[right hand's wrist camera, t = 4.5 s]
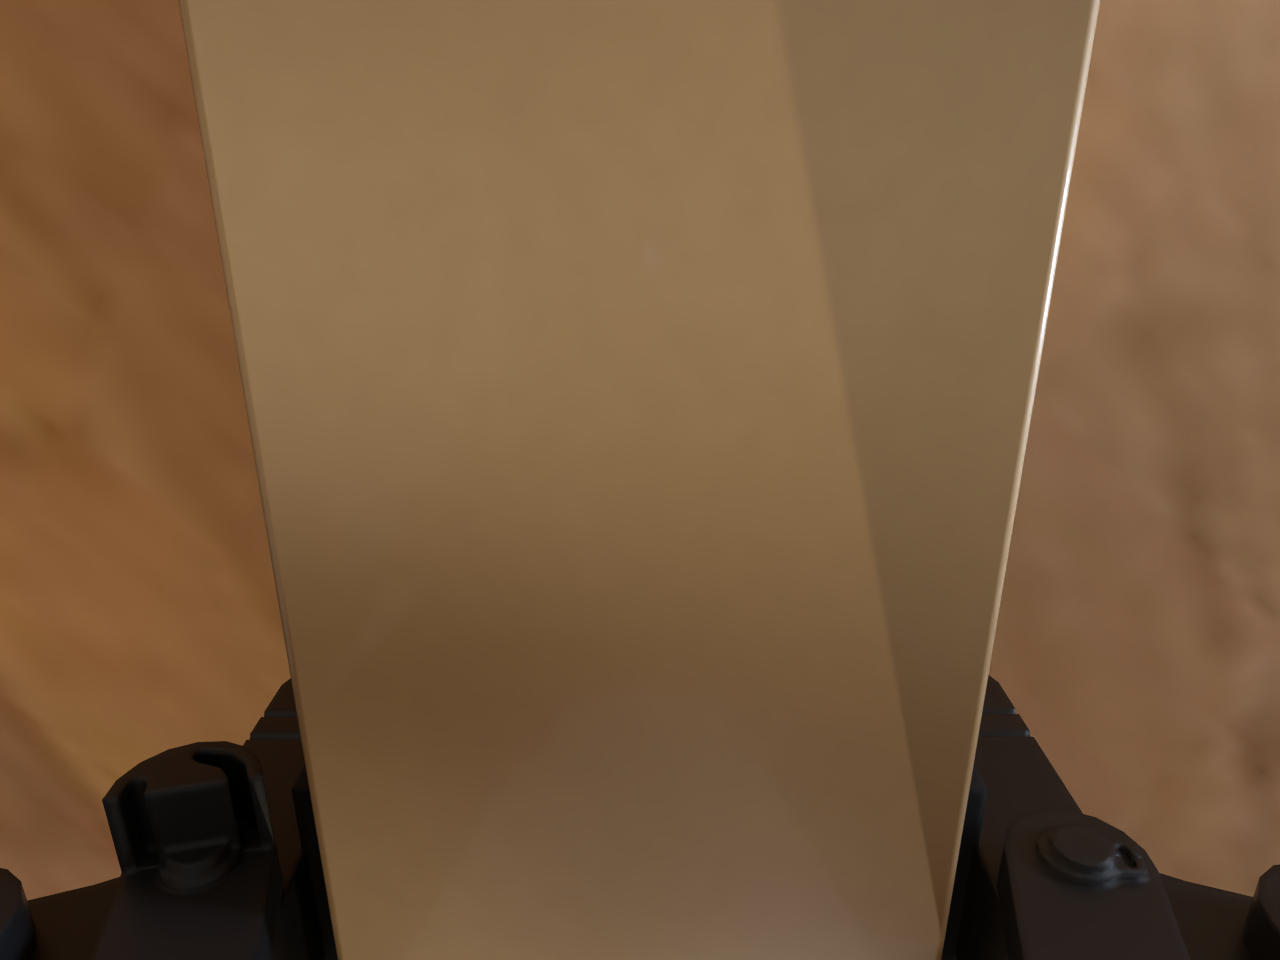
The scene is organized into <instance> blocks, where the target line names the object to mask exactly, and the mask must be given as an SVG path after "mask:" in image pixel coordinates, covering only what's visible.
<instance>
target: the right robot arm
mask: <svg viewBox="0 0 1280 960" xmlns="http://www.w3.org/2000/svg"><path fill="white" fill-rule="evenodd" d="M264 713H265V715H264V717H261V718H260V720H259V721H258V723H257V724H256V726H255V728H254V729H253V731H252V732H251V734H250V740H246V742H245V743H244V745H243V746H241V745H237V744H234V743H230V742H226V741H220V742H197V743H193V744H189V745H185V746H181V747H177V748H173V749H169V750H166V751H164V752H162V753H160V754H158V755H156V756H153V757H151V758H149V759H147V760H145V761H143V762H141V763H139V764H138V765H136V766H135V767H134V768H132V769H131V770H130V771H128V772H127V773H126V774H124V775H123V776H122V777H120V778H119V779H118V780H116V782H115V783H114V785H113V786H112V787H111V789H110V790H109V791H108V793H107V794H106V796H105V797H104V798H103V800H102V801H103V805H104V809H105V812H106V816H107V820H108V823H109V827H110V831H111V834H112V838H113V842H114V845H115V849H116V853H117V856H118V860H119V864H120V867H121V871H122V874H121V876H120V877H118V878H115V879H112V880H109V881H105V882H102V883H99V884H96V885H92V886H87V887H83V888H79V889H75V890H71V891H66V892H62V893H58V894H54V895H50V896H45V897H41V898H37V899H33V900H28V901H27V899H26V896H25V893H24V890H23V887H22V883H21V881H20V880H19V879H18V878H16V877H15V876H14V875H13V874H12V873H11V872H10V871H9V870H7V869H2V868H0V960H338V957H337V951H336V945H335V939H334V933H333V927H332V921H331V915H330V909H329V903H328V897H327V891H326V885H325V879H324V873H323V867H322V861H321V855H320V849H319V843H318V837H317V831H316V825H315V819H314V813H313V807H312V801H311V795H310V789H309V783H308V777H307V771H306V765H305V759H304V753H303V747H302V741H301V735H300V729H299V723H298V717H297V711H296V705H295V699H294V693H293V687H292V681H291V679H289V680H288V681H287V682H285V683H284V684H283V685H281V687H280V689H279V690H278V692H277V693H276V695H275V696H274V698H273V699H272V701H271V703H270V704H269V706H268V707H267V709H266V710H265V712H264ZM941 960H1280V864H1279V865H1273V866H1272V867H1271V868H1270V869H1269V870H1268V871H1266V872H1265V873H1264V874H1263V875H1262V876H1261V877H1260V878H1259V881H1258V884H1257V887H1256V890H1255V893H1254V896H1253V897H1250V896H1246V895H1242V894H1238V893H1233V892H1229V891H1225V890H1221V889H1216V888H1212V887H1208V886H1204V885H1199V884H1195V883H1191V882H1187V881H1183V880H1180V879H1177V878H1173V877H1170V876H1167V875H1164V874H1161V873H1159V872H1158V870H1157V869H1156V867H1155V865H1154V864H1153V862H1152V861H1151V859H1150V858H1149V856H1148V854H1147V853H1146V851H1145V850H1144V849H1143V848H1142V847H1140V846H1139V845H1138V844H1137V843H1136V842H1134V841H1133V840H1132V839H1131V838H1130V837H1129V836H1127V835H1126V834H1125V833H1124V832H1123V831H1121V830H1119V829H1117V828H1115V827H1113V826H1111V825H1109V824H1107V823H1105V822H1103V821H1101V820H1100V819H1098V818H1096V817H1092V816H1088V815H1085V814H1083V813H1082V812H1081V810H1080V809H1079V807H1078V805H1077V804H1076V802H1075V801H1074V799H1073V798H1072V796H1071V795H1070V793H1069V791H1068V790H1067V788H1066V787H1065V785H1064V784H1063V782H1062V781H1061V779H1060V777H1059V776H1058V774H1057V773H1056V771H1055V770H1054V768H1053V767H1052V765H1051V763H1050V762H1049V760H1048V759H1047V757H1046V756H1045V754H1044V753H1043V751H1042V749H1041V748H1040V746H1039V745H1038V743H1037V742H1036V740H1035V739H1034V737H1030V731H1029V729H1028V728H1027V726H1026V725H1025V723H1024V722H1023V720H1022V718H1021V717H1020V715H1019V714H1016V712H1015V708H1014V706H1013V704H1012V703H1011V701H1010V700H1009V698H1008V697H1007V695H1006V694H1005V692H1004V690H1003V689H1002V687H1001V686H1000V684H999V683H998V682H997V681H996V680H994V679H993V678H992V677H990V676H989V675H988V680H987V686H986V692H985V698H984V704H983V711H982V717H981V723H980V729H979V735H978V741H977V747H976V753H975V759H974V765H973V771H972V777H971V783H970V789H969V795H968V801H967V807H966V813H965V819H964V825H963V831H962V837H961V843H960V849H959V855H958V861H957V867H956V873H955V879H954V885H953V891H952V897H951V903H950V909H949V915H948V922H947V928H946V934H945V940H944V946H943V952H942V958H941Z"/></svg>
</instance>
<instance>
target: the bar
mask: <svg viewBox="0 0 1280 960" xmlns="http://www.w3.org/2000/svg"><path fill="white" fill-rule="evenodd" d="M178 1H179V7H180V13H181V19H182V25H183V31H184V37H185V43H186V49H187V55H188V61H189V67H190V73H191V79H192V85H193V91H194V97H195V103H196V109H197V115H198V121H199V127H200V133H201V139H202V145H203V151H204V157H205V163H206V169H207V175H208V181H209V187H210V193H211V199H212V206H213V212H214V218H215V224H216V230H217V236H218V242H219V248H220V254H221V260H222V266H223V272H224V278H225V284H226V290H227V296H228V302H229V308H230V314H231V320H232V326H233V332H234V338H235V344H236V350H237V356H238V362H239V368H240V374H241V380H242V386H243V392H244V398H245V404H246V410H247V416H248V422H249V428H250V434H251V440H252V446H253V452H254V458H255V464H256V470H257V476H258V482H259V488H260V494H261V500H262V506H263V512H264V518H265V524H266V530H267V536H268V542H269V548H270V554H271V560H272V566H273V572H274V578H275V584H276V590H277V596H278V602H279V608H280V614H281V620H282V626H283V632H284V639H285V645H286V651H287V657H288V663H289V669H290V675H291V681H292V687H293V693H294V699H295V705H296V711H297V717H298V723H299V729H300V735H301V741H302V747H303V753H304V759H305V765H306V771H307V777H308V783H309V789H310V795H311V801H312V807H313V813H314V819H315V825H316V831H317V837H318V843H319V849H320V855H321V861H322V867H323V873H324V879H325V885H326V891H327V897H328V903H329V909H330V915H331V921H332V927H333V933H334V939H335V945H336V951H337V957H338V960H941V958H942V952H943V946H944V940H945V934H946V928H947V922H948V915H949V909H950V903H951V897H952V891H953V885H954V879H955V873H956V867H957V861H958V855H959V849H960V843H961V837H962V831H963V825H964V819H965V813H966V807H967V801H968V795H969V789H970V783H971V777H972V771H973V765H974V759H975V753H976V747H977V741H978V735H979V729H980V723H981V717H982V711H983V704H984V698H985V692H986V686H987V680H988V674H989V668H990V662H991V656H992V650H993V644H994V638H995V632H996V626H997V620H998V614H999V608H1000V602H1001V596H1002V590H1003V584H1004V578H1005V572H1006V566H1007V560H1008V554H1009V548H1010V542H1011V536H1012V530H1013V524H1014V518H1015V512H1016V506H1017V499H1018V493H1019V487H1020V481H1021V475H1022V469H1023V463H1024V457H1025V451H1026V445H1027V439H1028V433H1029V427H1030V421H1031V415H1032V409H1033V403H1034V397H1035V391H1036V385H1037V379H1038V373H1039V367H1040V361H1041V355H1042V349H1043V343H1044V337H1045V331H1046V325H1047V319H1048V313H1049V307H1050V301H1051V295H1052V288H1053V282H1054V276H1055V270H1056V264H1057V258H1058V252H1059V246H1060V240H1061V234H1062V228H1063V222H1064V216H1065V210H1066V204H1067V198H1068V192H1069V186H1070V180H1071V174H1072V168H1073V162H1074V156H1075V150H1076V144H1077V138H1078V132H1079V126H1080V120H1081V114H1082V108H1083V102H1084V96H1085V90H1086V84H1087V77H1088V71H1089V65H1090V59H1091V53H1092V47H1093V41H1094V35H1095V29H1096V23H1097V17H1098V11H1099V5H1100V0H178Z"/></svg>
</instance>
